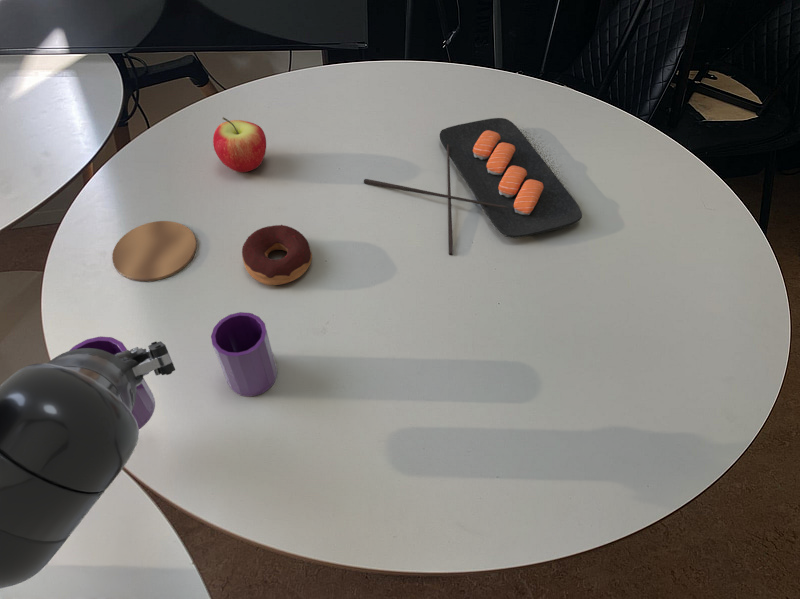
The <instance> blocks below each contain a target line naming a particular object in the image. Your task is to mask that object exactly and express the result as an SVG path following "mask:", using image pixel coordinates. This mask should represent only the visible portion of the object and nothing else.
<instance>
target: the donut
mask: <svg viewBox="0 0 800 599" xmlns="http://www.w3.org/2000/svg"><path fill="white" fill-rule="evenodd" d="M277 250H279V251H283V252H286V255H285V256H284V257H281V258H279V259H274V258H269V254H270V253H271V252H273V251H277ZM241 258H242V261H243V265H244V267H245V269H246V270H245V271H247V273H248V275H250V276H251V277H252V278H253V279H254V280H255V281H256V282H259V283H261V284H263V285H266V286H279V285H284V284H288V283H291V282H293V281H295V280H297V279H299V278H300V277H301V276H303V275H304V274H305V273H306V271H307V270H308V268H309V267H310V265H311V263H312V260H313V254H312V251H311V247H310V243H309V242H308V239H307V238H306V237H305V235H303V233H301V232H300V231H299V230H297V229H295V228H293V227H291V226H288V225H283V224H281V225H279V224H278V225H277V224H275V225H267V226H264V227H261V228H258V229H257V230H255V231H254V232H252V233H251V234H249V235H248V236H247V238H246V239H245V241H244V243H243V246H242V249H241Z"/></svg>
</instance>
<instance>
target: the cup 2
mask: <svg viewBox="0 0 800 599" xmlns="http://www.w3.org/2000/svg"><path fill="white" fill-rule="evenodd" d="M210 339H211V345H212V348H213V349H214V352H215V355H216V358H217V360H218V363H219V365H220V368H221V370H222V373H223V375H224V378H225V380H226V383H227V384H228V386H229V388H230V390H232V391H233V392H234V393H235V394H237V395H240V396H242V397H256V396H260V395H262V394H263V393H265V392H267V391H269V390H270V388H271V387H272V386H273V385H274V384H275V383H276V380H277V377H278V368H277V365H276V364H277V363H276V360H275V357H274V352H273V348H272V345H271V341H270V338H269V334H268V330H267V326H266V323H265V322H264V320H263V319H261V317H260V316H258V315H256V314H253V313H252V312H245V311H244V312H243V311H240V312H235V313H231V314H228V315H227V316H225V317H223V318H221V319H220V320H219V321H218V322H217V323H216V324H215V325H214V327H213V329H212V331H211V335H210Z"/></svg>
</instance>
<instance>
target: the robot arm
mask: <svg viewBox="0 0 800 599" xmlns="http://www.w3.org/2000/svg"><path fill="white" fill-rule="evenodd" d="M147 347H148V349H147V348H143V347H138V346H136V347H134V348H131V349H130V350H129V349H127V350H126V351H122V352H119V353H116V354H114V355H113V354H111V353H109V352H106V351H103V350H100V349H94V348H81V349H75V350H71V351H69V350H68V351H65V352H62V353H61V354H59V355H57V356H55V357H54V358H52V359H51V360H49V361H48V362H46V363H43V362H41V363H32V364H28V365H26V366H23V367H22V368H20V369H18V370H17V371H16V372H14V373H13V374H12V375H10V376H9V377H8V378H7V379H5V381H3V383H1V385H0V589H4V588H8V587H13V586H16V585H18V584H20V583H24V582H25V581H26V582H27V581H28V580H29V579H31V578H33V577H34V576H36V575H37V574H38V573H40V572H41V571H42V569H44V567H46V566H47V565H48V564H49V562H50V561H52V559H53V557H55V555H56V554H57V553H58V551H60V549H61V548H62V547H63V545H64V544H65V543H66V541H67V540H68V539H69V538H70V537H71V534H73V532H75V530H76V528H77V527H78V526H79V525H80V524H81V522H82V521H83V520H84V518H85V517H86V516H87V514H88V513H89V512H90V511H91V509H92V508H93V507H94V505H96V503H97V502H98V500H100V498H101V496H102V495H103V494H104V493H105V491H106V490H107V489H108V488H109V487H110V486H111V484H112V483H113V482H114V480H116V478H117V477H118V475H119V474H120V473H121V472H122V470H123V469H124V468H125V467H126V465H127V463H128V461H129V460H130V458H131V457H132V455H133V453H134V451H135V448H136V447H137V444H138V442H139V437H140V429H138V425H137V422H136V420H135V418H134V416H133V414H132V410H133V407H134V404H135V400H136V387H137V386H139V385H140V384H141V383H142V380H143V378H144V377H145V376H147V375H149V374H150V373H151V372H154V374H155V376H156V377H157V376H160V375H161V376H165V375H166V376H168V375H171V374H173V372H175V371H176V368H175V365H174V362H173V359H172V358H171V356H170V353H169V350H168V348H167V346H166V344H165V343H163V341H152V342H151V344H149V345H148V346H147Z"/></svg>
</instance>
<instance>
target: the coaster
mask: <svg viewBox="0 0 800 599" xmlns="http://www.w3.org/2000/svg"><path fill="white" fill-rule="evenodd" d="M197 246H198V243H197V239H196V237H195V234H194V233H193V231H192V230H191V229H190V228H189V227H187V226H186V225H184V224H181V223H179V222H177V221H172V220H171V221H170V220H158V221H151V222H147V223H143V224H141V225H138V226H136V227H134V228H132V229H131V230H129V231H128V232H126V233H125V234H124V235H123V236H121V237H120V238H119V240H118V241H117V242H116V244H115V246H114V248H113V250H112V254H111V255H112V258H111V260H112V264H113V266H114V268H115V269H116V271H117V272H118V273H119V274H120V275H121V276H123V277H125V278H126V279H130V280H132V281H136V282H156V281H159V280H164V279H166V278H169V277H171V276H173V275H176V274H177V273H179V272H181V271H182V270H183V269H185V268H186V267H187V266H188V265H189V264H190V263H191V262H192V260H193V258H194V257H195V255H196V252H197Z"/></svg>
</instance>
